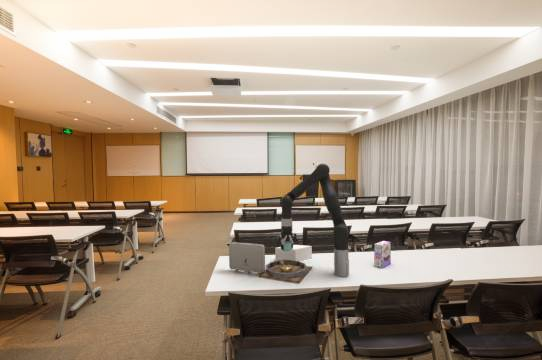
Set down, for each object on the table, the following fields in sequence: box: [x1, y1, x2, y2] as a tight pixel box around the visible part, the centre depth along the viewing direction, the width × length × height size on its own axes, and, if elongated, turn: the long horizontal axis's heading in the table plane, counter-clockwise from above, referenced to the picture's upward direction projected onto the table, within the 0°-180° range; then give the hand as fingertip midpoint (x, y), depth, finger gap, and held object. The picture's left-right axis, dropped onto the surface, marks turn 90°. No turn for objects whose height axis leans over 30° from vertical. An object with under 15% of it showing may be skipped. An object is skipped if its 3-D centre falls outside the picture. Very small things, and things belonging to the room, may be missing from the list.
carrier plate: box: [258, 261, 313, 285], centre depth 184 cm, size 28×28×6 cm
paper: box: [274, 244, 313, 262], centre depth 212 cm, size 14×29×10 cm, turn 96°
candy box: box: [373, 240, 392, 269], centre depth 195 cm, size 14×6×16 cm, turn 131°
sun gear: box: [280, 265, 293, 273], centre depth 184 cm, size 9×9×2 cm
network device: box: [228, 241, 266, 277], centre depth 186 cm, size 26×9×20 cm, turn 68°
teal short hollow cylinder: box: [283, 241, 291, 251], centre depth 184 cm, size 6×6×5 cm
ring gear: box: [265, 260, 308, 279], centre depth 184 cm, size 27×27×3 cm
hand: (286, 249), depth 184 cm, fingers closed on teal short hollow cylinder, 6 cm apart
